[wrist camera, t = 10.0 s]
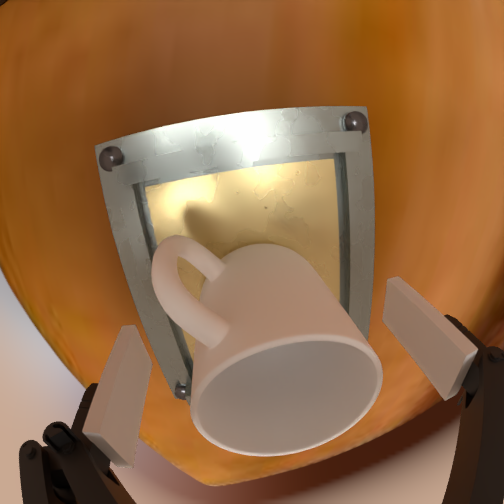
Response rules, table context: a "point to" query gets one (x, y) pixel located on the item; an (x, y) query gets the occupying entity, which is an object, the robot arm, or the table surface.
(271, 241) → the silver and gold block
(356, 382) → the cup
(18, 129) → the table surface
